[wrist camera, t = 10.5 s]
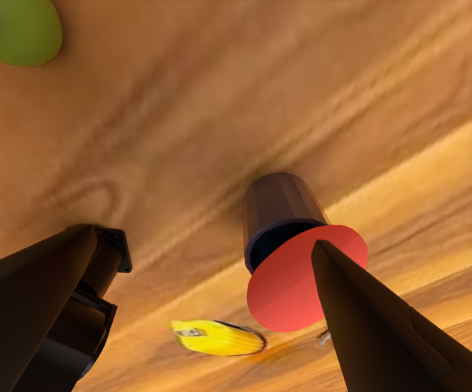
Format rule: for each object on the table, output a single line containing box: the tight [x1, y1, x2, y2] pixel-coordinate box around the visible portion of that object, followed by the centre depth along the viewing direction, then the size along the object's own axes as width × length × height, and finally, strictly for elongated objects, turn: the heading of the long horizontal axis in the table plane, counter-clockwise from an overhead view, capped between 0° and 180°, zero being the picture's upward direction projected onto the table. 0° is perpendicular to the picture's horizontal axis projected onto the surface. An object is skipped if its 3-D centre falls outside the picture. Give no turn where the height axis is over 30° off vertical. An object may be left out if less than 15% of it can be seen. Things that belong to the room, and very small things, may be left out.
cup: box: [243, 173, 332, 275], centre depth 20 cm, size 7×7×8 cm
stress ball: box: [247, 225, 368, 332], centre depth 15 cm, size 5×9×6 cm, turn 131°
